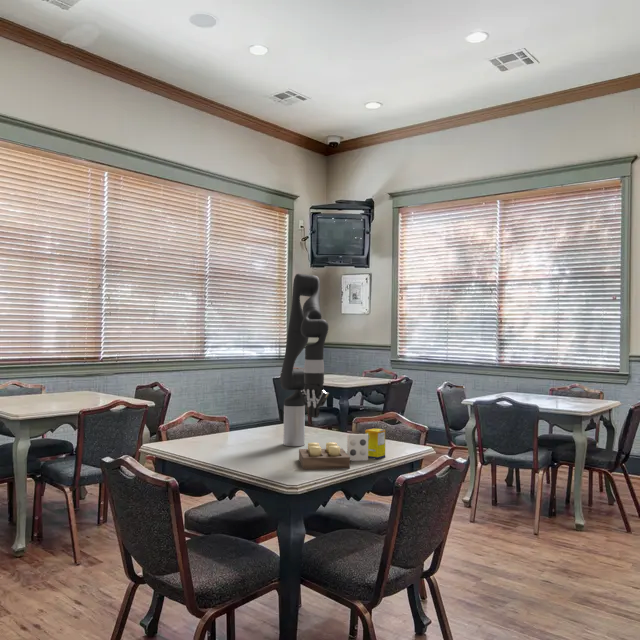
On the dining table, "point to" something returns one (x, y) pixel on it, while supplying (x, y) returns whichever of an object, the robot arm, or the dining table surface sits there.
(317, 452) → the button
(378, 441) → the supplement box
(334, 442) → the button
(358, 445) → the card
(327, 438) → the dining table surface
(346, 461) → the button board
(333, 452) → the button
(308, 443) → the button
